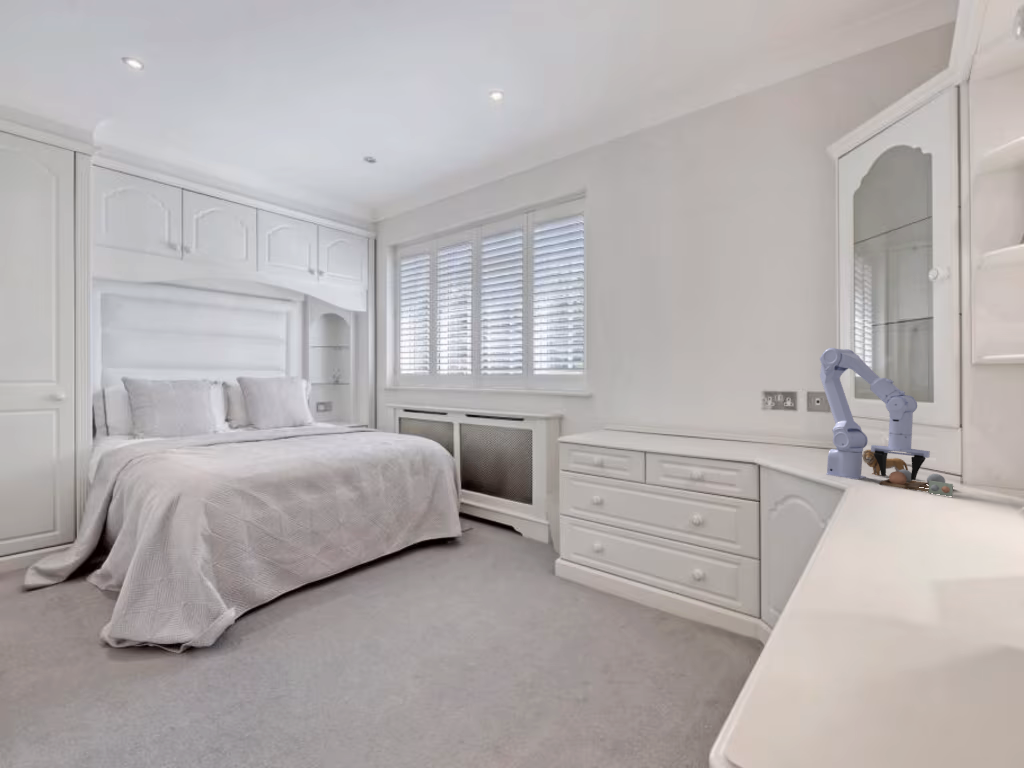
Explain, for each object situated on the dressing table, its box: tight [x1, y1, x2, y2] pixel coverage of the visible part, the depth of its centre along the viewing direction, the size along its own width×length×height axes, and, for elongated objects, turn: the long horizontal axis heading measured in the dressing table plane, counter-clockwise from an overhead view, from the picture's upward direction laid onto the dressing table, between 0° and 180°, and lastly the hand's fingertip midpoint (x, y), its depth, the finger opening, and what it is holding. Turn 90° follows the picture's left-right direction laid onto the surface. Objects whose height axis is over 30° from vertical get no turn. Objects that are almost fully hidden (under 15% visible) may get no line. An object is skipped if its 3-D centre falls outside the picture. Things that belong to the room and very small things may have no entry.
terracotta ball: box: [888, 470, 907, 485], centre depth 159 cm, size 4×4×4 cm
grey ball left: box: [899, 468, 912, 483], centre depth 164 cm, size 4×4×4 cm
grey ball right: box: [926, 473, 946, 484], centre depth 157 cm, size 4×4×4 cm
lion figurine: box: [862, 449, 909, 477], centre depth 177 cm, size 15×5×9 cm, turn 71°
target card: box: [928, 481, 954, 497], centre depth 146 cm, size 5×1×4 cm, turn 39°
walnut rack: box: [879, 478, 929, 493], centre depth 158 cm, size 15×15×1 cm
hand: (898, 477), depth 159 cm, fingers open, 7 cm apart
